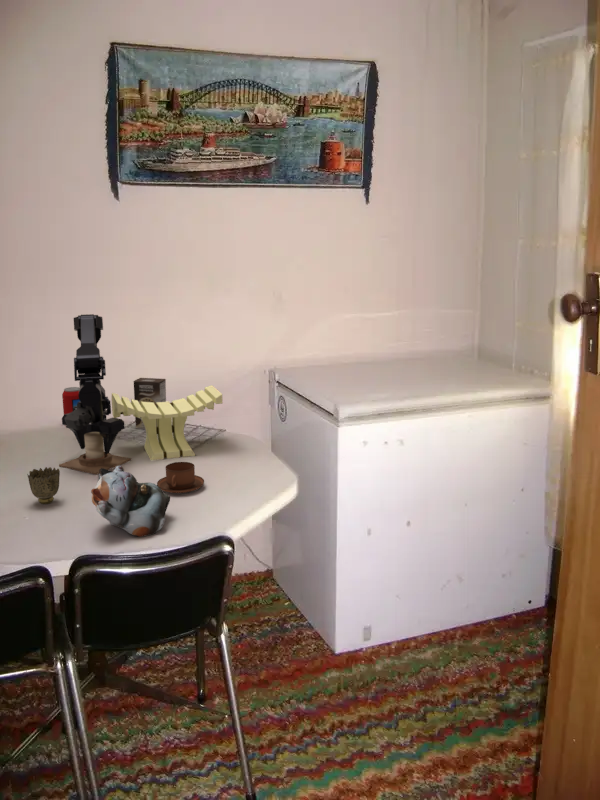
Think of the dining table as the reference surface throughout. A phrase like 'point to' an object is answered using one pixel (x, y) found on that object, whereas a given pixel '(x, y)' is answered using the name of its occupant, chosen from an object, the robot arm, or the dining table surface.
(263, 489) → the dining table surface
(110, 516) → the lucky cat figurine
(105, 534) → the dining table surface
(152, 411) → the slatted curved stool
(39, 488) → the cup
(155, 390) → the coffee box
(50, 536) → the dining table surface
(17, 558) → the dining table surface
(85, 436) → the beige rounded peg
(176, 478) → the cup and saucer
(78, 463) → the walnut socket
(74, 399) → the beverage can
